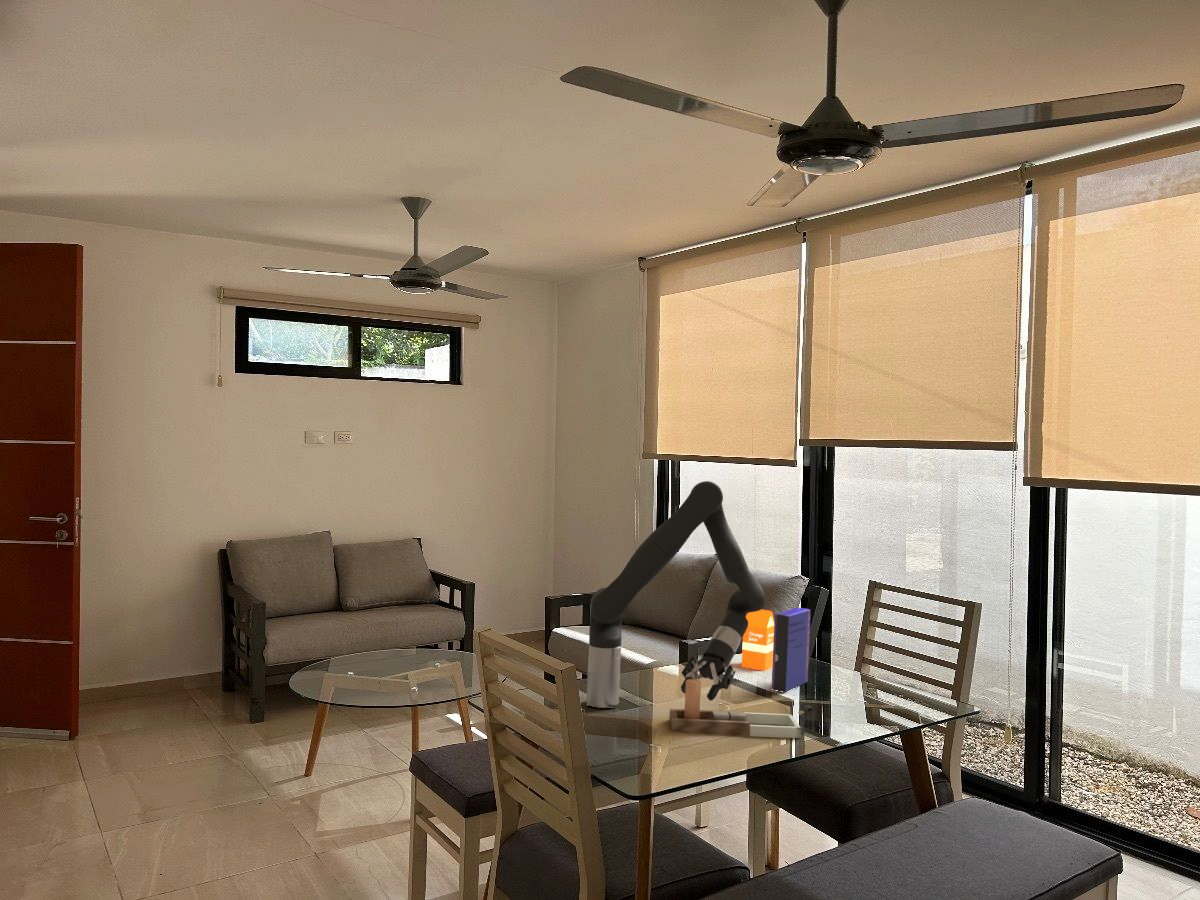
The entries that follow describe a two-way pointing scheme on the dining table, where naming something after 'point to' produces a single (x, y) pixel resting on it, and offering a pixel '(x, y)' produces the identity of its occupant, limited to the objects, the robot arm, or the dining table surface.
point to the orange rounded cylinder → (692, 699)
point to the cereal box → (790, 649)
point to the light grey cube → (720, 715)
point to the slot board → (706, 724)
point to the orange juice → (758, 641)
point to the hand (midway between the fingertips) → (696, 695)
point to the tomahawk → (805, 708)
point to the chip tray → (773, 731)
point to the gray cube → (737, 716)
